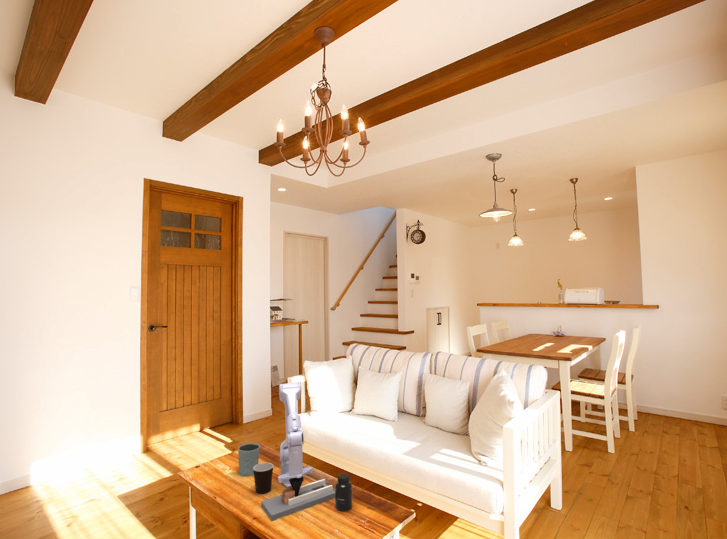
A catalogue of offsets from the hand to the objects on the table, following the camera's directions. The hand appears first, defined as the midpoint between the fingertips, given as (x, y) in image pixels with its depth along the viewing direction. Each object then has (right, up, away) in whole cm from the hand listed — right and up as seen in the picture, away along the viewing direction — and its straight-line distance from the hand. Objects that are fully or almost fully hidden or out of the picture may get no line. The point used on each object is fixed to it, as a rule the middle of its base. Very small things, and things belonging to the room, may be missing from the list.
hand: (295, 495), depth 154 cm
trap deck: (+1, -3, +1) cm, 3 cm away
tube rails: (+4, -1, +3) cm, 5 cm away
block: (-3, -1, -2) cm, 4 cm away
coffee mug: (-16, -4, +12) cm, 20 cm away
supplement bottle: (+20, -3, -4) cm, 20 cm away
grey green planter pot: (-28, -6, +28) cm, 40 cm away
